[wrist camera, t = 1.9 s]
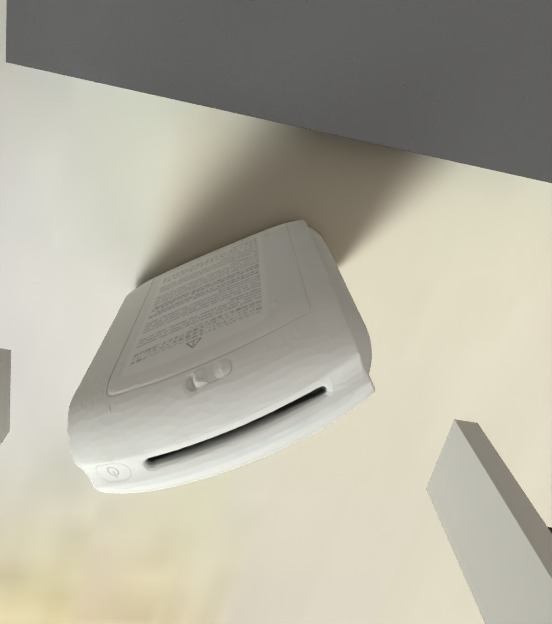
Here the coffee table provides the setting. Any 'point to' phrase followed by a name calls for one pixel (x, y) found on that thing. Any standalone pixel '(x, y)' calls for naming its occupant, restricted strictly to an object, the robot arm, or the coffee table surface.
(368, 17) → the rail
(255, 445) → the photo printer
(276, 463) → the coffee table surface
